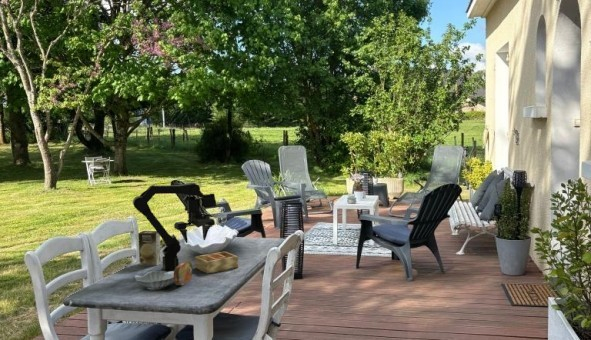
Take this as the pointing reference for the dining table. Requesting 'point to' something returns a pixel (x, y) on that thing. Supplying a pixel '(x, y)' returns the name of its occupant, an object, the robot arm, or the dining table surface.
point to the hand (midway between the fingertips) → (195, 241)
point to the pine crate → (216, 263)
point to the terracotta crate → (215, 257)
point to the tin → (183, 273)
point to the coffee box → (149, 248)
